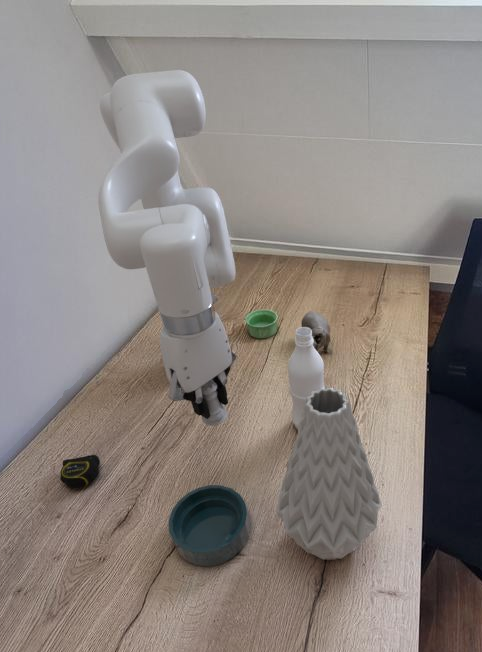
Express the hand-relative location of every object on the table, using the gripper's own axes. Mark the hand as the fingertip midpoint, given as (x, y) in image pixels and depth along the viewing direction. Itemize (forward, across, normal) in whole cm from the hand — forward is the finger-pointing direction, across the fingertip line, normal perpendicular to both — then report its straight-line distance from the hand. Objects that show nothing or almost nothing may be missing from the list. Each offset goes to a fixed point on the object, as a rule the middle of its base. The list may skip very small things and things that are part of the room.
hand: (211, 407), depth 77 cm
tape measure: (+20, +18, -25) cm, 36 cm away
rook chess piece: (+3, 0, 0) cm, 3 cm away
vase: (+20, -2, +24) cm, 31 cm away
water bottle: (+20, -21, +4) cm, 29 cm away
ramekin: (+19, -42, -30) cm, 55 cm away
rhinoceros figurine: (+19, -43, -12) cm, 49 cm away
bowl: (+20, +10, +6) cm, 23 cm away
